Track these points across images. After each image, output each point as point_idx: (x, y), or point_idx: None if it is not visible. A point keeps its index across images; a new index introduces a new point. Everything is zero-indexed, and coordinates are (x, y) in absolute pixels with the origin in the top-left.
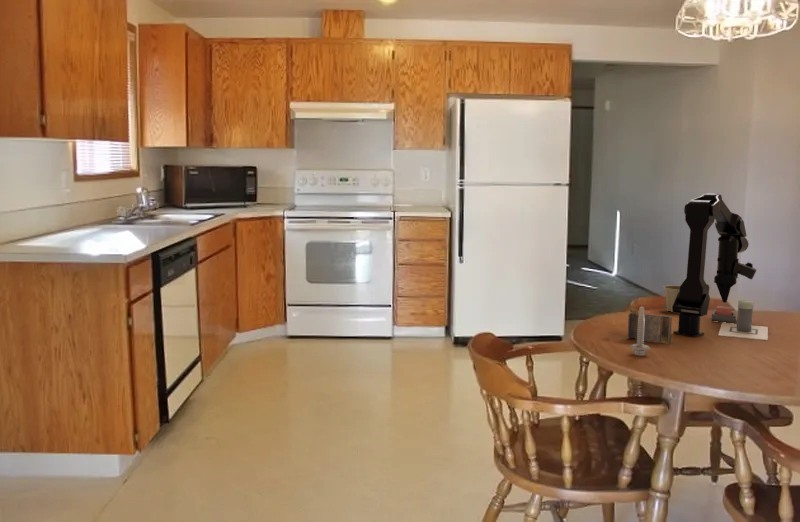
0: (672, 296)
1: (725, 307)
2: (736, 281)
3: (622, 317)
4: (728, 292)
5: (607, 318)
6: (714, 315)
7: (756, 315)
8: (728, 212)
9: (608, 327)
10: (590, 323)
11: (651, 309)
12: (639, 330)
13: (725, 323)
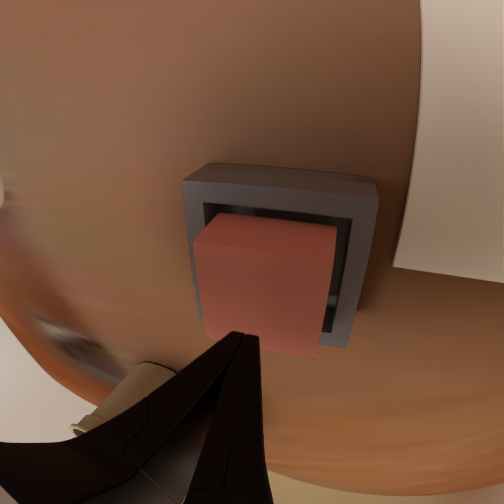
0: None
1: (259, 300)
2: (11, 496)
3: (350, 479)
4: (263, 446)
5: (372, 488)
6: (350, 330)
7: (27, 83)
8: None
9: (473, 477)
10: (433, 492)
11: None
12: None
13: (412, 248)
